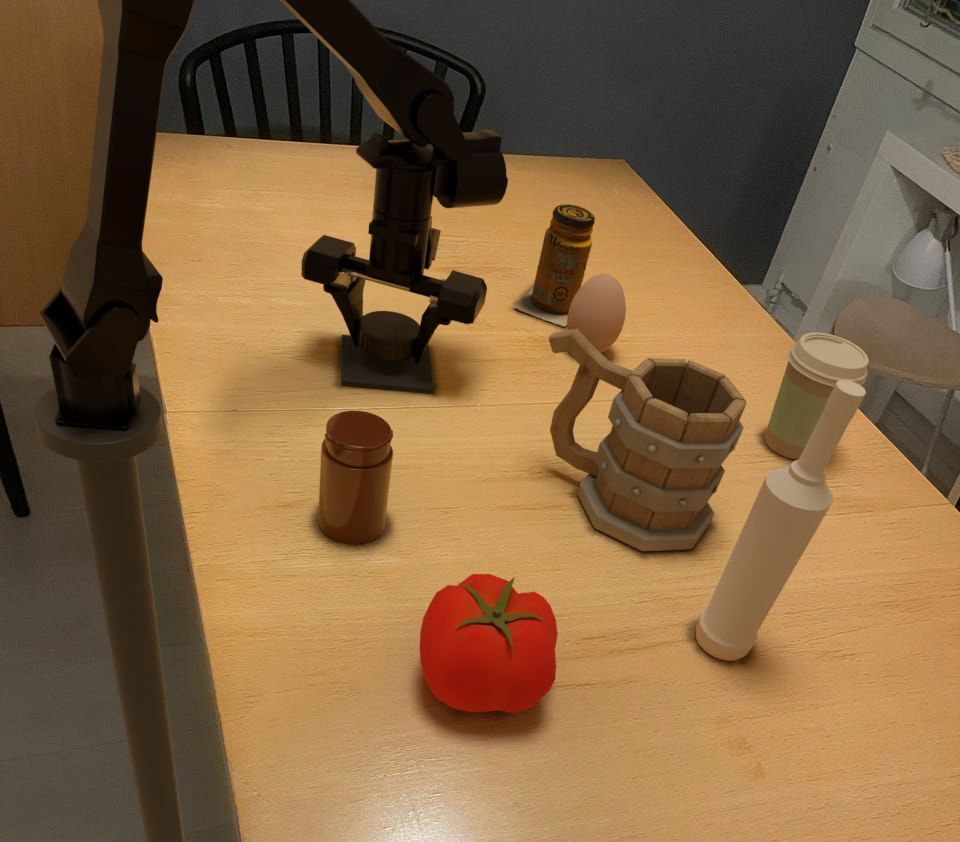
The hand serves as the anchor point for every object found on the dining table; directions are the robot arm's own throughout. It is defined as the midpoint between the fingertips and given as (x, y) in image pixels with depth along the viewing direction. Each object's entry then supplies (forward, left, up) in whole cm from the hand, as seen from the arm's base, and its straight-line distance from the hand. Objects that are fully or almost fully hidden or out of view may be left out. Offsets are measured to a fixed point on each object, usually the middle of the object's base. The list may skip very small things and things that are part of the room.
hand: (387, 353), depth 101 cm
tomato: (+6, -47, -2) cm, 47 cm away
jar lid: (0, 0, +3) cm, 3 cm away
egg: (+25, +8, -2) cm, 26 cm away
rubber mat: (0, 0, -2) cm, 2 cm away
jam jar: (-4, -28, -2) cm, 28 cm away
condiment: (+22, +19, -2) cm, 29 cm away
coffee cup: (+46, -9, -2) cm, 47 cm away
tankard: (+22, -21, -2) cm, 30 cm away
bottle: (+28, -41, -2) cm, 50 cm away
